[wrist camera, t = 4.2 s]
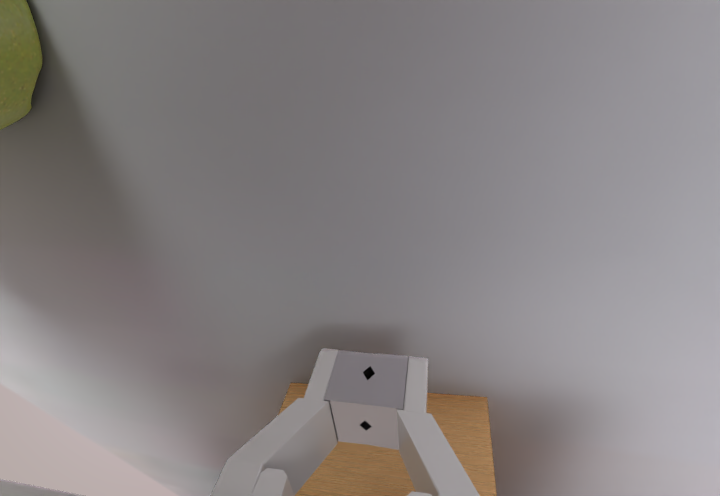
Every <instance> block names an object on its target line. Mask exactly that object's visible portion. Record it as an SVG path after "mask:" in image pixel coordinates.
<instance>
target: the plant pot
mask: <svg viewBox="0 0 720 496" xmlns="http://www.w3.org/2000/svg"><path fill="white" fill-rule="evenodd" d="M41 68H42V52H41V45H40V40H39V37H38V33H37V29H36V26H35V23H34V20H33V17H32V14H31V11H30V8H29V6H28V4H27V2H26V0H0V130H1V129H3V128H5V127H7V126H9V125H11V124H13V123H14V122H16V121H18V120H20V119H21V118H23V117H24V116H25V115H27V114H28V112H29V111H30V110H31V108H32V106H31V97H32V94H33V91H34V87H35V84H36V80H37V77H38V74H39V72H40V70H41Z"/></svg>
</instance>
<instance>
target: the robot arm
mask: <svg viewBox="0 0 720 496" xmlns="http://www.w3.org/2000/svg"><path fill="white" fill-rule="evenodd" d="M427 385H428V358H423V357H411V356H404V355H391V354H378V353H374V354H371V353H362V352H354V351H345V350H336V349H326V348H322V350H321V351H320V353H319V355H318V358H317V361H316V364H315V367H314V369H313V372H312V375H311V378H310V381H309V384H308V387H307V389H306V392H305V395H304V398H297V399H296V400H295V401H294V402H293V403H292V404H291V405H289V406H288V407H287V408H286V409H285V410H284V411H282V412H281V413H280V414H279V415H278V416H277V417H276V418H274V419H273V420H272V421H271V422H270V423H269V424H267V425H266V426H265V427H264V428H263V429H262V430H261V431H259V432H258V433H257V434H256V435H255V436H254V437H253V438H251V439H250V440H249V441H248V442H247V443H246V444H244V445H243V446H242V447H241V448H240V449H239V450H238V451H236V452H235V453H234V454H233V455H232V456H231V457H229V458H228V459H227V461H226V463H225V466H224V468H223V470H222V472H221V474H220V476H219V478H218V480H217V483H216V485H215V487H214V489H213V491H212V493H211V495H210V496H295V494H296V493H297V492H298V491H299V490H300V488H301V487H302V486H303V485H304V484H305V482H306V481H307V480H308V479H309V478H310V476H311V475H312V474H313V473H314V471H315V470H316V469H317V468H318V467H319V465H320V464H321V463H322V462H323V461H324V459H325V458H326V457H327V456H328V455H329V453H330V452H331V451H332V450H333V448H334V447H335V446H336V445H337V444H338V443H337V441H339V442H348V443H357V444H366V445H372V446H378V447H384V448H390V449H396V450H399V452H400V455H401V457H402V460H403V462H404V464H405V467H406V469H407V471H408V474H409V476H410V479H411V481H412V483H413V486H414V488H415V491H416V492H414V491H412V492H411V493H409V494H408V495H407V496H480V495H479V494H478V492H477V490H476V488H475V487H474V485H473V483H472V482H471V480H470V478H469V477H468V475H467V473H466V472H465V470H464V468H463V466H462V465H461V463H460V461H459V460H458V458H457V456H456V455H455V453H454V451H453V450H452V448H451V446H450V444H449V443H448V441H447V439H446V438H445V436H444V434H443V433H442V431H441V429H440V427H439V426H438V424H437V422H436V421H435V419H434V417H433V416H432V414H430V413H427ZM0 496H84V495H79V494H74V493H69V492H63V491H59V490H54V489H49V488H44V487H39V486H34V485H29V484H23V483H18V482H13V481H8V480H3V479H0Z"/></svg>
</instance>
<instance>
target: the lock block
mask: <svg viewBox="0 0 720 496" xmlns="http://www.w3.org/2000/svg"><path fill="white" fill-rule="evenodd" d="M307 387H308V384H302V383H291V384H290V386H289V389H288V391H287V394H286V396H285V399H284V401H283V404H282V406H281V409H280V411H279V414H280V413H281V412H282V411H284V410H285V409H286V408H287V407H288V406H289V405H291V404H292V403H293V402H294V401H295V400H296V399H297V398H304V395H305V392H306V389H307ZM427 413H430V414H432V416H433V417H434V419H435V421H436V422H437V424H438V426H439V427H440V429H441V431H442V433H443V434H444V436H445V438H446V439H447V441H448V443H449V444H450V446H451V448H452V450H453V451H454V453H455V455H456V456H457V458H458V460H459V461H460V463H461V465H462V466H463V468H464V470H465V472H466V473H467V475H468V477H469V478H470V480H471V482H472V483H473V485H474V487H475V488H476V490H477V492H478V494H479V495H480V496H497V494H496V484H495V474H494V464H493V453H492V443H491V433H490V423H489V413H488V402H487V397H477V396H463V395H450V394H436V393H427ZM279 414H278V415H279ZM337 443H338V444H337V445H336V446H335V447H334V448H333V450H332V451H331V452H330V453H329V455H328V456H327V457H326V458H325V459H324V461H323V462H322V463H321V464H320V465H319V467H318V468H317V469H316V470H315V471H314V473H313V474H312V475H311V476H310V478H309V479H308V480H307V481H306V482H305V484H304V485H303V486H302V487H301V488H300V490H299V491H298V492H297V493H296V494H295V496H407V495H408V494H409V493H411V492H412V491H414V492H416V491H415V488H414V486H413V483H412V481H411V479H410V476H409V474H408V471H407V469H406V467H405V464H404V462H403V460H402V457H401V455H400V452H399V450H396V449H390V448H384V447H378V446H372V445H366V444H357V443H348V442H339V441H337Z"/></svg>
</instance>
